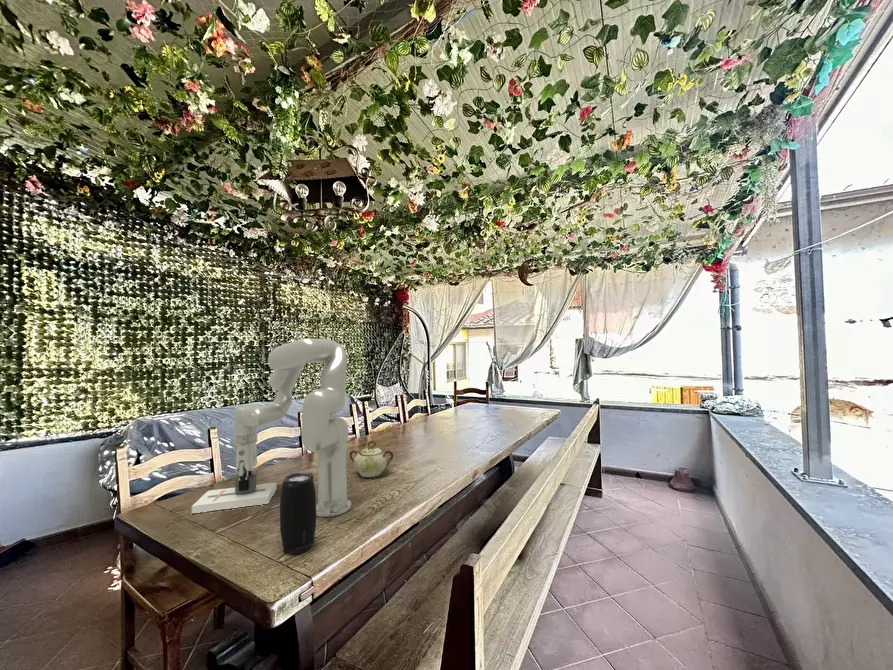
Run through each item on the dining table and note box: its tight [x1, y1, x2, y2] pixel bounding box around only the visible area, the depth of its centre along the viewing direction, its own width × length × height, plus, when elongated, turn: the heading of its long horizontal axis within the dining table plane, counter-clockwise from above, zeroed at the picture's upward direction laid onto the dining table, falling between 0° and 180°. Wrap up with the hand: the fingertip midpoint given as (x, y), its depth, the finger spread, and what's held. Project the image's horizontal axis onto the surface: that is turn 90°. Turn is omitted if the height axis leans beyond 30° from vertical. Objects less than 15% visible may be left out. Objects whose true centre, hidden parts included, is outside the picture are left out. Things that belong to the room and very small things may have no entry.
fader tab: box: [234, 474, 257, 494], centre depth 128 cm, size 4×6×5 cm
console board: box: [191, 482, 277, 514], centre depth 127 cm, size 14×24×3 cm, turn 106°
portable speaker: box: [279, 472, 317, 556], centre depth 95 cm, size 9×9×20 cm
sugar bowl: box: [349, 440, 394, 478], centre depth 151 cm, size 20×15×15 cm
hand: (245, 487), depth 128 cm, fingers closed on fader tab, 4 cm apart
